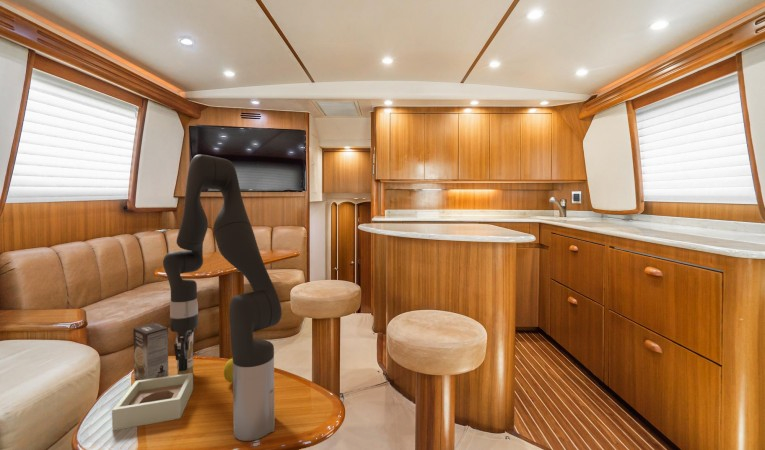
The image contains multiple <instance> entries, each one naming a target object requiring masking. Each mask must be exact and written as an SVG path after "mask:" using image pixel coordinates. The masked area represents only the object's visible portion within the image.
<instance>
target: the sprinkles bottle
mask: <svg viewBox="0 0 765 450" xmlns="http://www.w3.org/2000/svg"><path fill="white" fill-rule="evenodd" d="M189 335H191V340H190V349H189V350H188V357H187V370H186V371H179V360H176V369H177V375H180V374H187V373H193V376H194V374H195V373H194V351H193V350H194V349H193V347H194V345H193V344H194V339H193V334H189ZM187 340H188V339H187ZM175 343H177V342H176V341H175ZM185 348H187V346H186V347H185ZM180 355H183V354H180Z"/></svg>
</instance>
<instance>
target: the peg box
mask: <svg viewBox="0 0 765 450" xmlns="http://www.w3.org/2000/svg"><path fill="white" fill-rule="evenodd" d="M193 373H194V372H193ZM193 373H187V374H180V375H178V374H174V375H168V376H166V377H159V378H152V379H145V380H138V379H137V380H135V381H134V383H133V384H132V385H131V386H130V388H129V389H128V390H127V391H126V393H124V395H123V396H122V397H121V399H120V400H119V401H118V402H117V403H116V404H115V406H114V407H113V408H112V410H111V418H112V419H111V421H112V431H118V430H125V429H128V428H129V429H130V428H135V427H140V426H145V425H151V424H156V423H162V422H167V421H173V420H179V419H181V418H182V415H183V413H184V410H185V408H186V406H187V404H188V402H189V399H190V398H191V395H192V393H193V390H194V375H193Z"/></svg>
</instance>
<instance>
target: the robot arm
mask: <svg viewBox="0 0 765 450" xmlns="http://www.w3.org/2000/svg"><path fill="white" fill-rule="evenodd" d="M203 189H206V190H207V189H208V190H217V191H220V193H221V195H222V200H223V203H222V206H221V208H220V210H219V212H218V214H217V216H216V218H215V220H214V223H213V228H212V230H213V234H214V239H215V243H216V245H217V249H218V251H219V253H220V255H221V256H222V257H223V258H224V259H225V260H226V261H227V262H228V263H229V264H230V265H231V266H232V267H234V268H235V269H237V270H238V271H239V272H240V273H241V274H242V275H243V276H244V277H245V278H246V280H247V281H248V283H249V285H250V287H251V290H252V291H251V292H245V293H241V294H236V295H235V296H233V297H232V298H231V300H230V302H229V307H228V319H229V320H228V321H229V330H230V331H229V332H230V347H231V354H232V358H233V383H232V403H233V405H232V408H233V409H232V411H233V417H232V418H233V425H232V426H233V436H234V437H235V438H236V439H238V440H239V441H244V442H248V441H256V440H259V439H261V438H263V437H265V436H267V435H268V434H271V433H273V432H275V429H276V427H275V420H276V419H275V347H274V346H275V345H274V344H273V343H272V342H271V341H269V340H265V339H257V338H254V332H258V331H261V330H264V329H268V328H271V327H274V326H276V325H278V324H279V323H280V322H281V319H282V313H283V311H282V305H281V300H280V297H279V295H278V293H277V290H276V288H275V286H274V283H273V282H272V279H271V277H270V275H269V272H268V270H267V268H266V266H265V263H264V261H263V257H262V256H261V252H260V249H259V246H258V244H257V239H256V236H255V232H254V229H253V228H252V224H251V221H250V220H249V219H250V218H249V216H248V214H247V210H246V207H245V204H244V200H243V196H242V191H241V188H240V183H239V179H238V173H237V170H236V167H235V165H234V164H233V162H232V161H231V160H230V159H226V158H222V157H218V156H212V155H208V154H201V153H200V154H196V155H194V156H193V158H192V159H191V160H190V163H189V166H188V171H187V178H186V184H185V194H184V205H183V213H182V218H181V219H182V220H181V223H180V226H179V229H178V234H177V237H176V245H177V246H178V247H179V248H180V249H183V250H177V251H176V250H175V251H170V252H168V253H166V254H165V256H164V258H163V260H162V265H163V269H164V271H165V275H166V277H167V279H168V284H169V288H170V306H169V321H170V322H169V324H170V325H169V326H170V327H169V329H170V331H171V332H173V333H177V335H176V337H175V342H174V343H173V346H174V357H175V361H177V360H179V371H186V370H187V357H188V350H189V349H190V340H191V335H189V334H193V340H194V339H195V337H194V336H195V334H194V333H195V329H196V328H198V326H199V304H198V285H197V282H196V280H194V279H184V278H182V276H181V274H186V273H192V272H197V271H199V270H200V269H201V268H202V266H203V264H204V259H203V258H204V256H203V255H204V253H203V245H204V242H205V241H204V240H205V239H206V235H207V232H208V228H209V227H208V226H209V220H208V217H207V215H206V212H205V210H204V206H203V205H202V202H201V194H202V190H203ZM187 339H188V340H187ZM176 342H177V343H176ZM186 346H187V348H185V347H186ZM193 346H194V343H193ZM180 354H183V355H180Z"/></svg>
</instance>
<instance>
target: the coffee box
mask: <svg viewBox="0 0 765 450" xmlns="http://www.w3.org/2000/svg"><path fill="white" fill-rule="evenodd" d="M132 329H133V334H132V335H133V376H134V379H137V381H138V380H145V379H152V378H159V377H166V376H169V328H168V327H167V326H164V325H162V324H161V323H158V322H156V321H155V322H154V321H153V322H151V323H147V324H143V325H139V326H136V327H133V328H132Z"/></svg>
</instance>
